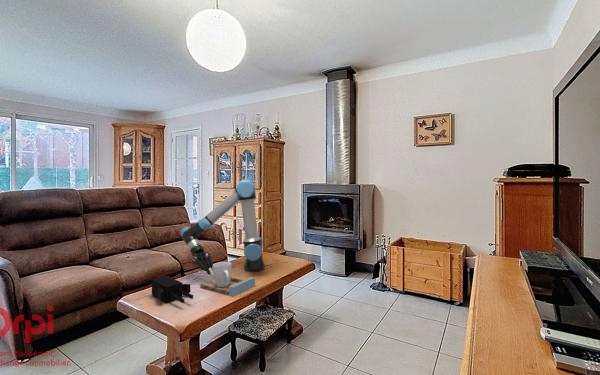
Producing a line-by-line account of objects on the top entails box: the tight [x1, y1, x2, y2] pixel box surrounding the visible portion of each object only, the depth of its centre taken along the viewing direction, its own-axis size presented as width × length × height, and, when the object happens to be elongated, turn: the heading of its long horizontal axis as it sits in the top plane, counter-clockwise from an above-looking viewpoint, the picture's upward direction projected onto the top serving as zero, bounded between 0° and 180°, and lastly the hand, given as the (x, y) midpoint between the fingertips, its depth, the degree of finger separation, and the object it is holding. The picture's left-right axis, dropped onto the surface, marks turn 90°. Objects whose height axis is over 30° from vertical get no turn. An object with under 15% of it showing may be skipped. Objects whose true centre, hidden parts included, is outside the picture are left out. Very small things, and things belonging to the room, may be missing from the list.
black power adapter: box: [151, 275, 194, 304], centre depth 159 cm, size 16×9×30 cm
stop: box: [228, 276, 256, 297], centre depth 171 cm, size 3×18×5 cm, turn 148°
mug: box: [212, 261, 233, 288], centre depth 178 cm, size 15×11×13 cm
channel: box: [199, 276, 244, 296], centre depth 178 cm, size 23×19×2 cm
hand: (213, 277), depth 182 cm, fingers closed
